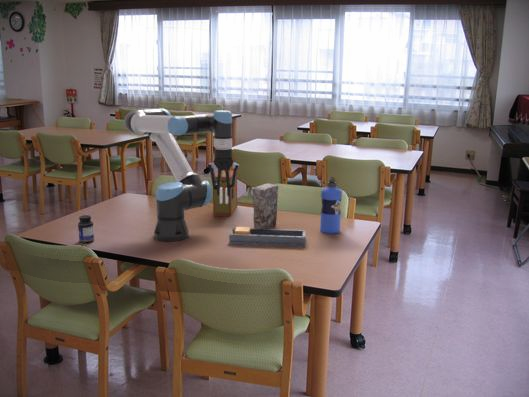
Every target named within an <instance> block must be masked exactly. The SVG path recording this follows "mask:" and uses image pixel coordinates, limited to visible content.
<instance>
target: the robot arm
mask: <svg viewBox="0 0 529 397" xmlns="http://www.w3.org/2000/svg"><path fill="white" fill-rule="evenodd" d="M123 124H124V128H125V129H126V131H127V132H129V133H130V134H132V135H136V136H138V135H139V136H141V135H143V136H144V135H147V136H148V137H149V139H150V141H152V142H155V143H156V145H157V147H158V149H159V152H160V153H161V154H162V156H163V158H164V160H165V162H166V164H167V166H168V168H169V169H170V171H171V173H172V175H173V177H174V178H175V180H176V181H171V182H170V181H169V182H165V183H162V184H160V185H158V187H156V196H155V199H156V215H157V217H156V218H157V219H156V223H155V228H154V229H153V237H154V239H155V238H156V240H157V241H161V242H162V241H163V242H176V241H182V240H185V239H187V238H188V237H189V236H190V234H189V227H188V225H187V223H186V220H185V211H189V210H193V209H197V208H202V207H205V206H207V205H208V204H209V203H210V202H211V201H212V199H213V187H216V188H217V195H218V196H220V204H222V202H223V195H222V187H221V175H222V170H225V173H226V182H227V188H226V189H225V204H228V196H230V194H231V188H232V187H234V186H235V181H236V174H237V175H238V169H239V167H240V164H239V163H237V162H234V158H233V149H232V148H233V113H232V111H230V110H225V109H224V110H222V109H220V110H214V112H213V114H211V113H206V112H204V113H197V114H191V115H172V114H171V112H170V111H168V110H167V109H165V108H163V107H162V108H161V107H154V108H145V109H142V108H140V109H135V110H134V109H133V110H131V111H129V112H128V113H127V115H126V116H125V117H124V123H123ZM200 133H212V134H213V135H214V136H213V138H214V139H213V144H214V146H213V148H214V150H213V151H214V154H213V155H214V157H213V158H214V159H213V162H211V163H208V165H207V167H208V169H209V173H210V178H211V183H212V184H210V182H209V181H208V180H205V179H201V176H200V174H198V173H196V172H195V173H194V171H193V169H192V167H191V166H190V164H189V162H188V160H187V157H186V156H185V155H184V153H183V151H182V149H181V147H180V145H179V144H178V142H177V140H176V138H175V136H182V135H191V134H200ZM231 167H232V169H233V170H232V171H233V177H232V184H230V174H229V170H230V169H231ZM215 168H217V172H218V179H217V184H216V178H215V174H216V173H215ZM220 187H221V188H220Z"/></svg>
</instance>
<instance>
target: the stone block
mask: <svg viewBox="0 0 529 397" xmlns="http://www.w3.org/2000/svg"><path fill="white" fill-rule="evenodd" d="M278 192H279V186H278V185H277V184H273V183H268V182H267V183H264V184H260V185H259V186H255V187H254V188H253V189H252V205H253V207H252V208H253V228H258V229H272V227H275V226H276V225H277V219H278V216H277V215H278V198H279V195H278V194H279V193H278Z"/></svg>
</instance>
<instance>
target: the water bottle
mask: <svg viewBox="0 0 529 397" xmlns="http://www.w3.org/2000/svg"><path fill="white" fill-rule="evenodd" d="M336 181H337V179H336V178H335V177H333V176H331V177H329V178H327V181H326V185H327V186H326V187H324V188H322V189H321V190H320V191H321V192H320V198H321V210H320V226H319V227H320V232H321V233H322V234H327V235H328V234H329V235H335V234H339V233H341V217H342V215H341V214H342V211H341V203H342V198H343V190H342V189H340V188H338V187H337V182H336Z"/></svg>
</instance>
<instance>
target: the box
mask: <svg viewBox="0 0 529 397" xmlns="http://www.w3.org/2000/svg"><path fill="white" fill-rule="evenodd" d="M233 171H234V170H230V169H229V174H230V184H232V177H233ZM215 178H216V184H217V179H218V171H217V172H216V173H215ZM221 187H222V195H223V202H222V204H220V196H218V195H217V188H216V187H213V186H212V205H213V208H212V211H213V213H212V214H213V216H215V217H217V216H218V217H232V216H233V214H234V213H235V211H236V210H237V209H238V173H237V174H236V181H235V186H234V187H232V188H231V194H230V196H228V204H225V189H226V188H227V182H226V173H225V170H222V175H221ZM221 187H220V188H221Z"/></svg>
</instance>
